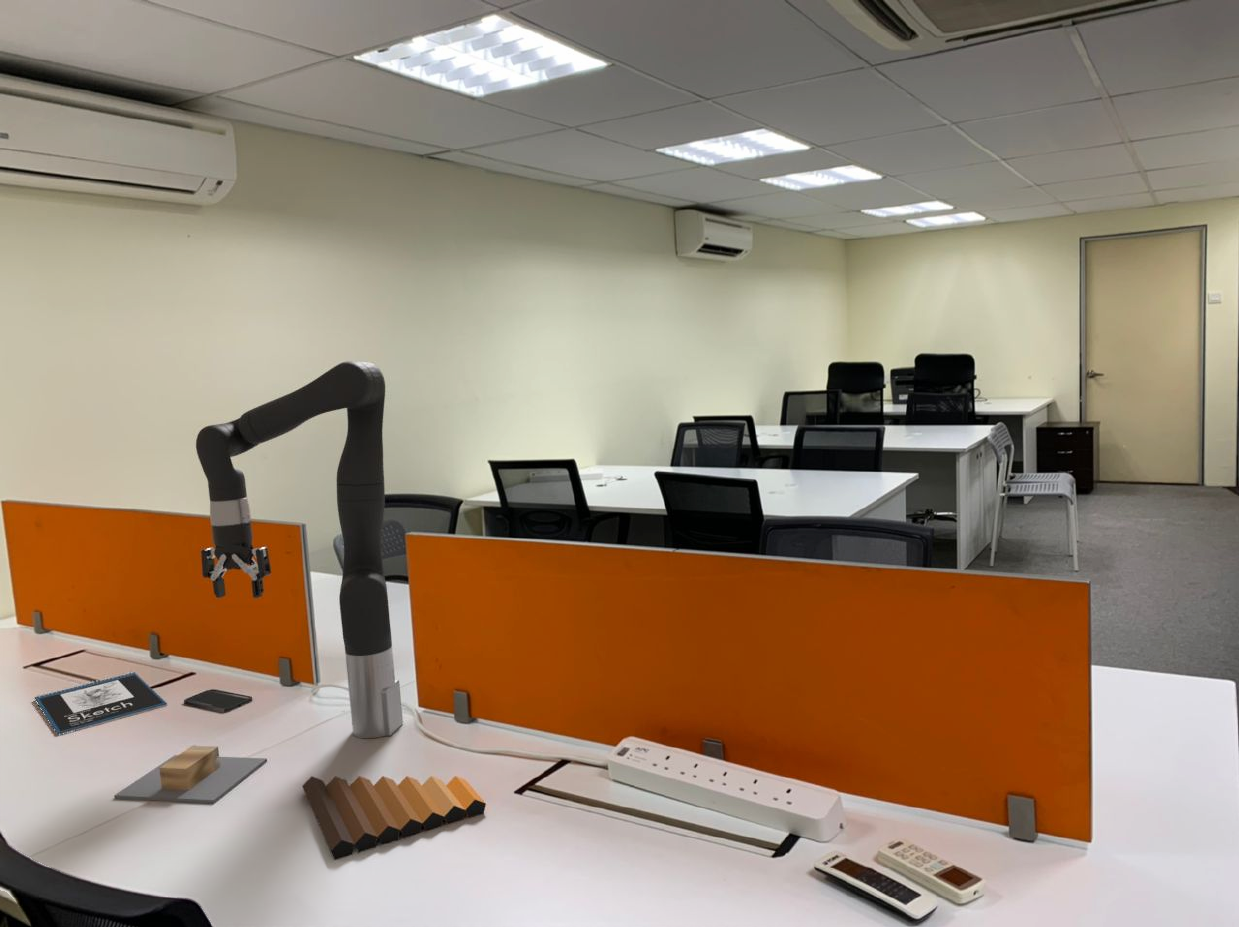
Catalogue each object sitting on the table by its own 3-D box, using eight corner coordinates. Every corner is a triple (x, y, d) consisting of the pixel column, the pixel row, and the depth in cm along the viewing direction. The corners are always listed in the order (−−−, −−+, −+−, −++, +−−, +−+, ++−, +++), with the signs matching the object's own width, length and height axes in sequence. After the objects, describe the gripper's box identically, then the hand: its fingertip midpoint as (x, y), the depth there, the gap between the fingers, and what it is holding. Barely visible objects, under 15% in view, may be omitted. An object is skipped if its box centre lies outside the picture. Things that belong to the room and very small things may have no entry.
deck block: (189, 790, 159) (186, 768, 158) (161, 788, 160) (159, 767, 159) (220, 766, 167) (218, 746, 167) (194, 765, 168) (192, 745, 168)
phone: (211, 688, 209) (254, 697, 202) (211, 693, 210) (254, 701, 202) (181, 700, 203) (224, 709, 195) (181, 705, 203) (225, 714, 196)
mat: (267, 761, 170) (266, 758, 170) (214, 803, 154) (213, 800, 154) (175, 757, 174) (174, 754, 174) (114, 798, 158) (114, 795, 158)
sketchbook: (58, 739, 188) (57, 729, 188) (34, 702, 211) (33, 694, 210) (167, 707, 202) (166, 699, 202) (134, 676, 225) (133, 669, 224)
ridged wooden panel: (303, 797, 156) (331, 864, 134) (301, 778, 156) (329, 843, 134) (440, 759, 168) (486, 815, 146) (438, 742, 167) (485, 796, 146)
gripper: (188, 524, 180) (197, 602, 182) (251, 523, 177) (259, 602, 179) (211, 517, 187) (220, 592, 189) (272, 516, 184) (280, 592, 186)
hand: (239, 597), depth 184 cm, fingers open, 8 cm apart
